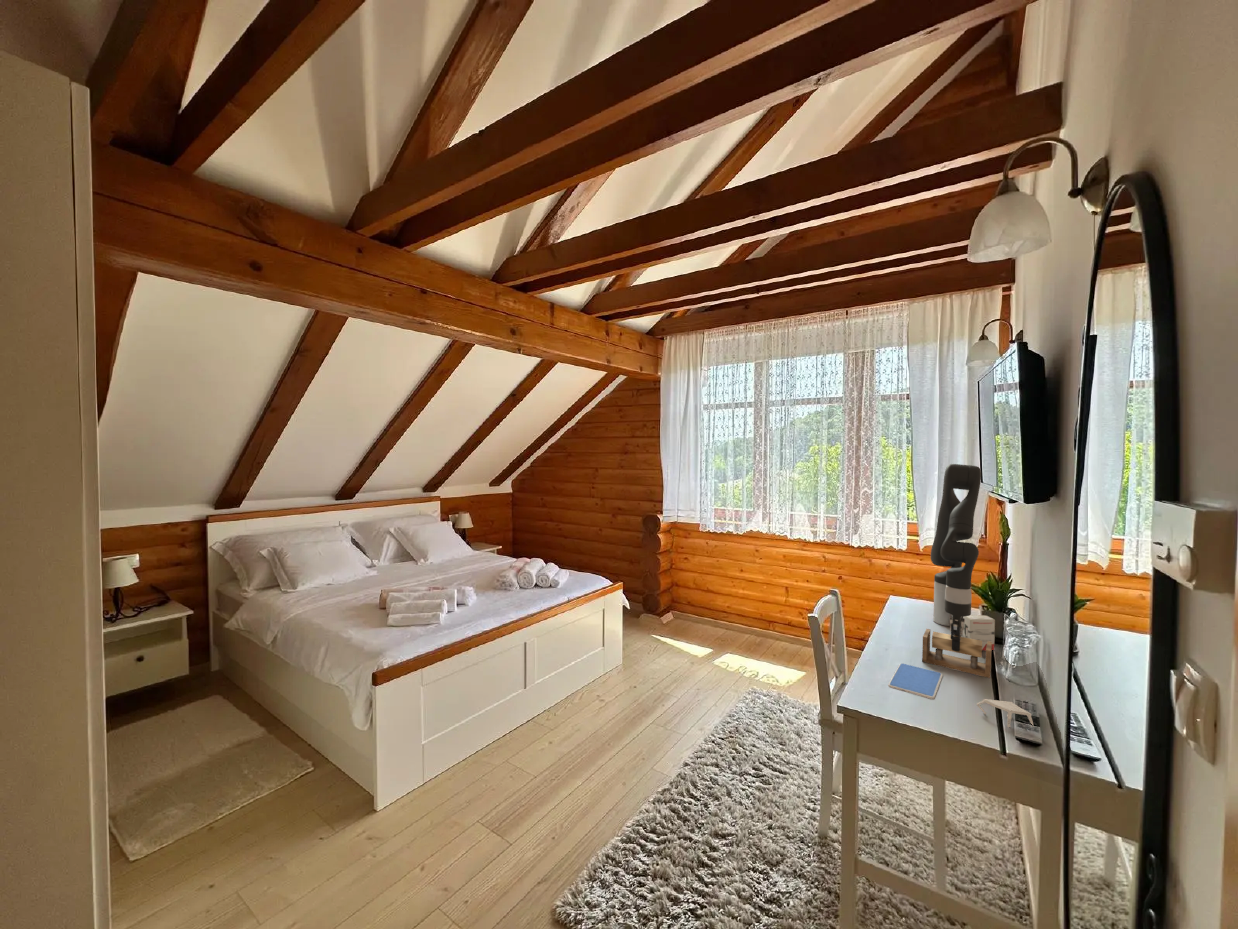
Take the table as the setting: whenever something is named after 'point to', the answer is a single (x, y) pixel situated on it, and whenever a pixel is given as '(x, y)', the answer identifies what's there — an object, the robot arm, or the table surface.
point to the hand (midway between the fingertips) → (956, 647)
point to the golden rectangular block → (966, 644)
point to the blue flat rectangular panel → (916, 680)
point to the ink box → (980, 629)
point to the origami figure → (1006, 709)
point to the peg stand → (956, 659)
